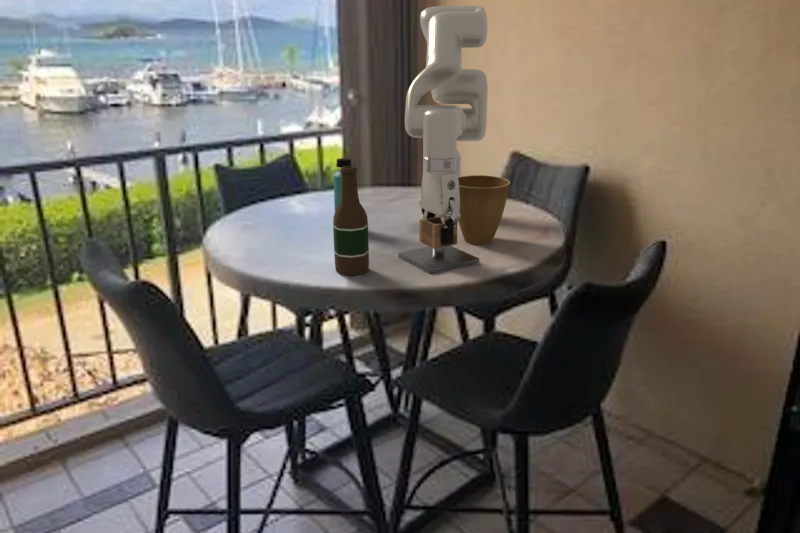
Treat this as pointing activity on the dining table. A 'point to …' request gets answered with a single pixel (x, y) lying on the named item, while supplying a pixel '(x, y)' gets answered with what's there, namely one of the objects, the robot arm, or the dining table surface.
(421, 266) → the post block
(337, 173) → the beverage bottle
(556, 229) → the dining table surface
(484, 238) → the plant pot
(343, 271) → the beer bottle
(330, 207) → the dining table surface
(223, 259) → the dining table surface
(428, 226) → the walnut collar
